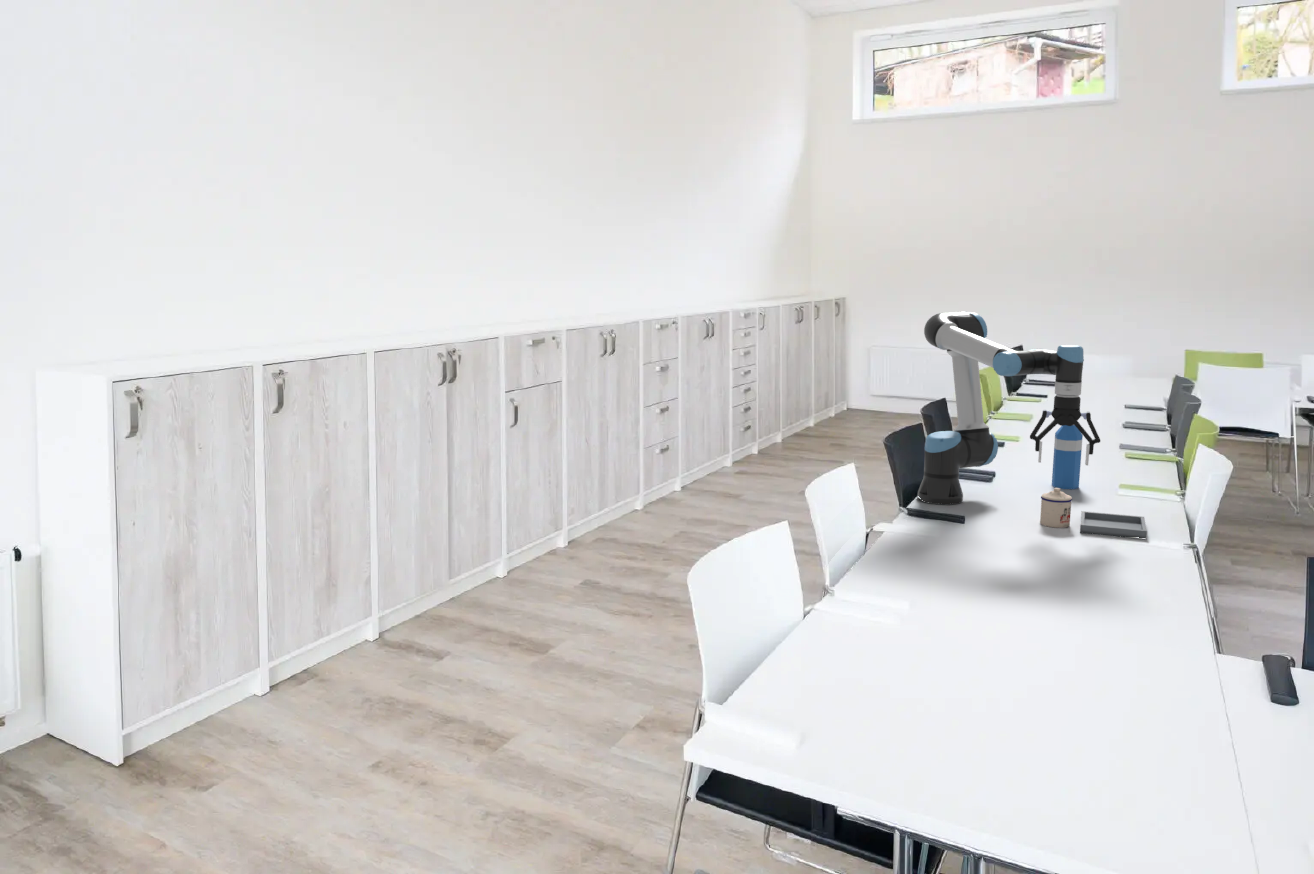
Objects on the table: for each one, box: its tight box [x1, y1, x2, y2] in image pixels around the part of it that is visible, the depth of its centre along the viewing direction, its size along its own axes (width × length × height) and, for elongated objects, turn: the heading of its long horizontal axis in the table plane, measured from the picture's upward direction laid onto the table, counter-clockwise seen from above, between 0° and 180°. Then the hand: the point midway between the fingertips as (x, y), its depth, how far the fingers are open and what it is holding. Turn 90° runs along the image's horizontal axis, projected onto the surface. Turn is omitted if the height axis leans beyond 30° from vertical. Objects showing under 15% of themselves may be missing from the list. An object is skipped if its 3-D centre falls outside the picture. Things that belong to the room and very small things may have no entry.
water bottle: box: [1051, 425, 1084, 490], centre depth 356 cm, size 9×9×25 cm
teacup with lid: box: [1039, 487, 1073, 529], centre depth 306 cm, size 12×9×12 cm
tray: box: [1079, 510, 1148, 539], centre depth 301 cm, size 18×18×3 cm
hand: (1062, 463), depth 305 cm, fingers open, 13 cm apart
